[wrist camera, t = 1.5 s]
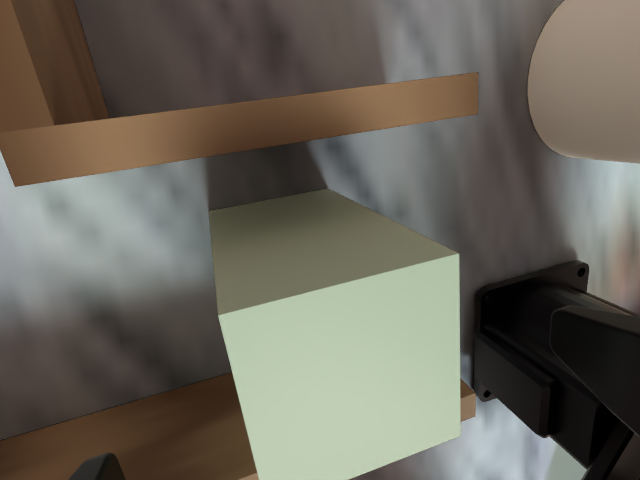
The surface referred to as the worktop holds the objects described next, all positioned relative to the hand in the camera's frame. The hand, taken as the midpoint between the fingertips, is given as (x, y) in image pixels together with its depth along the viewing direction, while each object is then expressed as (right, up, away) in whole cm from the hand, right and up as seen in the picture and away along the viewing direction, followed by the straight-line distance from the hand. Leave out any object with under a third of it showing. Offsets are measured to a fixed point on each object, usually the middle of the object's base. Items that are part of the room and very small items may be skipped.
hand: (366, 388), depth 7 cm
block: (-2, +2, +7) cm, 8 cm away
